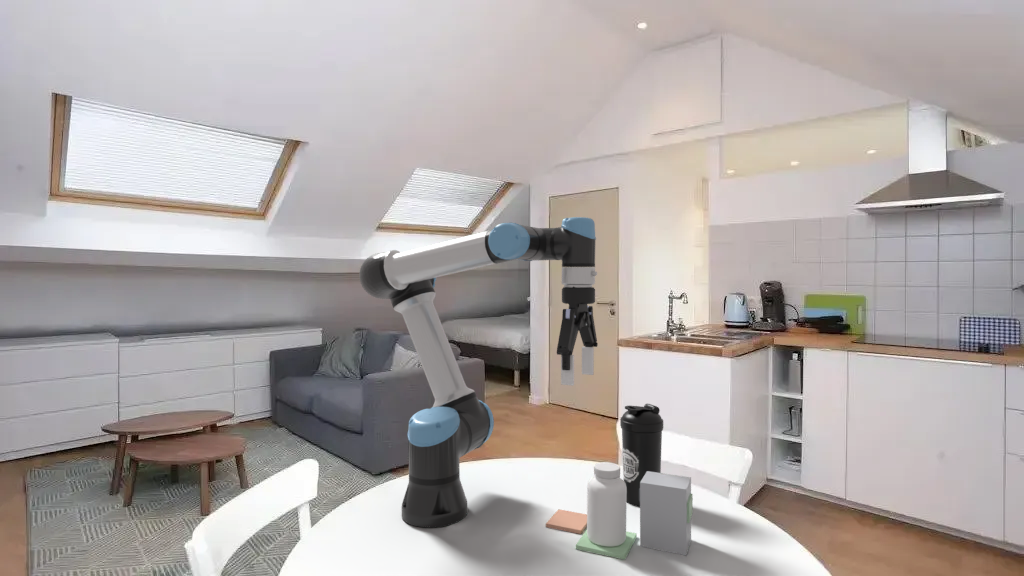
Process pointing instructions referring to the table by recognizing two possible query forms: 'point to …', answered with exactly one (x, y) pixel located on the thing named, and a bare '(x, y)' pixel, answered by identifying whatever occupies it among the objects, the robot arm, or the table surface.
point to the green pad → (614, 551)
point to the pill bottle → (606, 506)
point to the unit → (665, 512)
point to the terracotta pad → (568, 521)
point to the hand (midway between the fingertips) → (578, 379)
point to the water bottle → (640, 446)
